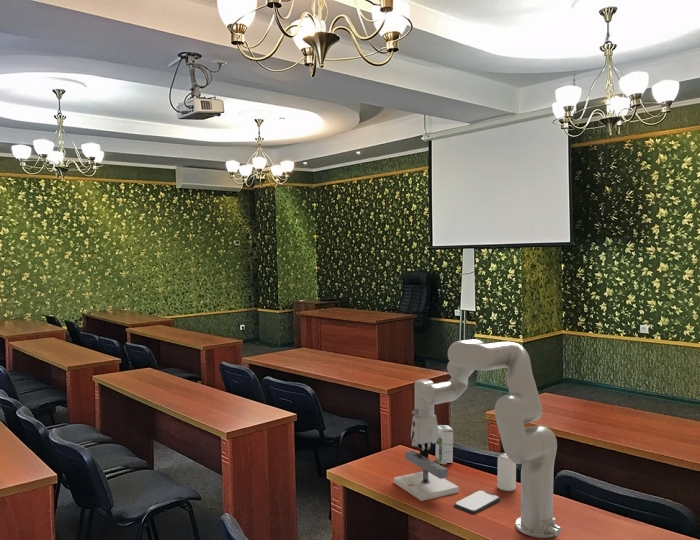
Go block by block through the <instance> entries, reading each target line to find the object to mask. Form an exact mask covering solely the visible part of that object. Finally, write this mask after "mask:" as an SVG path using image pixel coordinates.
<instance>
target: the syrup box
mask: <svg viewBox="0 0 700 540" xmlns="http://www.w3.org/2000/svg"><path fill="white" fill-rule="evenodd" d="M453 447H454V429H453V428H452V427H451V426H449V425H446V424H444V425H443V424H439V425H438V440H437V441H436V443H435V462H436V463H437V464H439V465H440V464H442V465H448V464H447V463H453V460H454V459H453V458H454V457H453V456H454V454H453V453H454V452H453V450H454V448H453ZM453 464H454V463H453Z"/></svg>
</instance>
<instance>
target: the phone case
mask: <svg viewBox="0 0 700 540" xmlns="http://www.w3.org/2000/svg"><path fill="white" fill-rule="evenodd" d="M500 501H501V498H500V496H498V495H496V494H493V493H490V492H487V491H485V490H482V489H481V490H477V491H475V492H473V493H471V494H469V495H467V496H465V497H463V498H461V499H459V500H457V501H455V502H454V503H453V505H454V508H456V509H458V510H459V509H460V510H461V511H464V512H467V513H469V514H471V515H472V514H473V515H474V514H475V515H476V514H478V513H480V512H482V511H484V510H485V509H487V508H489V507H491V506H493V505H495V504H498V502H500Z"/></svg>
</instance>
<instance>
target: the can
mask: <svg viewBox="0 0 700 540" xmlns="http://www.w3.org/2000/svg"><path fill="white" fill-rule="evenodd" d="M497 488H498V489H499V490H500V491H504V492H513V491H515V490H516V488H517V464H516V463H514V462H512V461H511V460H510V459H509V458H508V457H507V455H506V453H505V452H501V453H499V454H498V457H497Z"/></svg>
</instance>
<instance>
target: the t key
mask: <svg viewBox="0 0 700 540" xmlns="http://www.w3.org/2000/svg"><path fill="white" fill-rule="evenodd" d="M405 460H407V461H408V462H410V463H412V464H413V465H415V466H417V467H419V468H421V469H422V472H423V482H425V483H427V482H428V472H429V473H431V474H433V475H434V476H436V477H438V478H440V479H443V478H444V479H446V478H447V479H448V477H449V476H448V474H449V473H448V471H449V470H448V468H446V467H445V466H443V465H440V464H439V463H438V462H437V461H433V460H432V459H430V458H429V457H428V458H426V457H424V456H422V455H420V452H419V453H418V452H416V451H415V450H413V449H410V450H405Z"/></svg>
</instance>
